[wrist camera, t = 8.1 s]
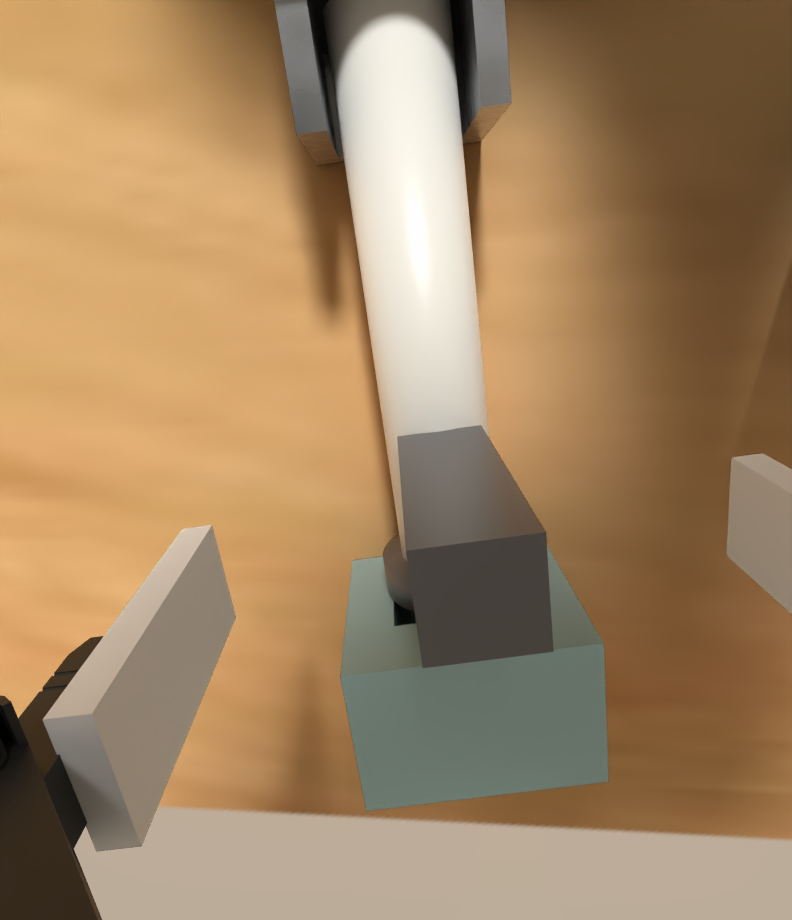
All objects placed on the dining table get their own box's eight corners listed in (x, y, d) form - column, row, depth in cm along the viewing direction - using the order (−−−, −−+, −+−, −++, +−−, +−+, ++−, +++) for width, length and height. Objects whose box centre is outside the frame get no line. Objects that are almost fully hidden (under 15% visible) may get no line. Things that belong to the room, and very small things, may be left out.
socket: (352, 560, 29) (340, 676, 21) (541, 535, 28) (603, 643, 20) (371, 666, 31) (366, 811, 22) (548, 643, 30) (608, 781, 22)
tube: (308, 49, 22) (196, -272, 9) (462, 25, 22) (581, -336, 9) (400, 639, 29) (413, 935, 16) (514, 624, 29) (619, 911, 16)
